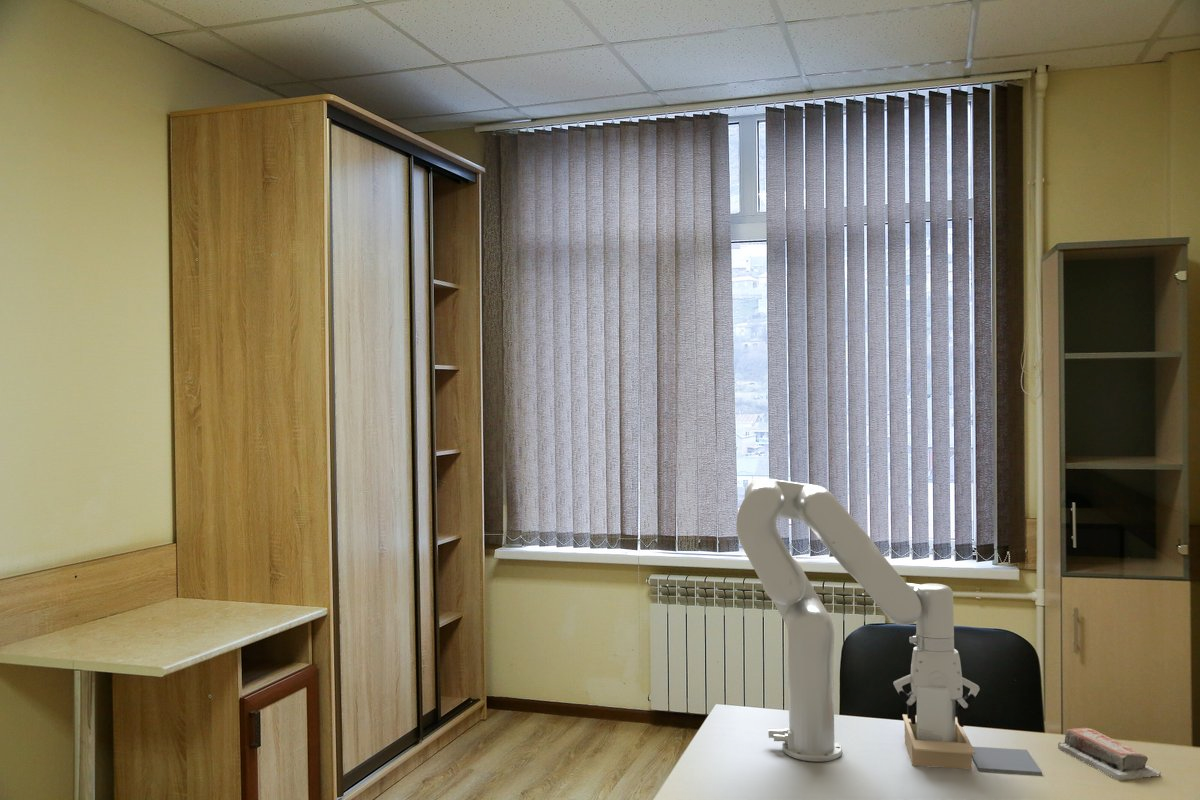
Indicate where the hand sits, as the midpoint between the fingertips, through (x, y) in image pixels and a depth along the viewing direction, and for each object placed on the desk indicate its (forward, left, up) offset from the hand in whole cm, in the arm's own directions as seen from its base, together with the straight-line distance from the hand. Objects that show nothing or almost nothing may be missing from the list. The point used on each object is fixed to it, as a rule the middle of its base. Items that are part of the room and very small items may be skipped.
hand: (936, 723), depth 194 cm
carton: (0, 0, -7) cm, 7 cm away
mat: (+13, -1, -7) cm, 15 cm away
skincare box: (0, 0, -7) cm, 7 cm away
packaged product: (+34, +3, -8) cm, 35 cm away
